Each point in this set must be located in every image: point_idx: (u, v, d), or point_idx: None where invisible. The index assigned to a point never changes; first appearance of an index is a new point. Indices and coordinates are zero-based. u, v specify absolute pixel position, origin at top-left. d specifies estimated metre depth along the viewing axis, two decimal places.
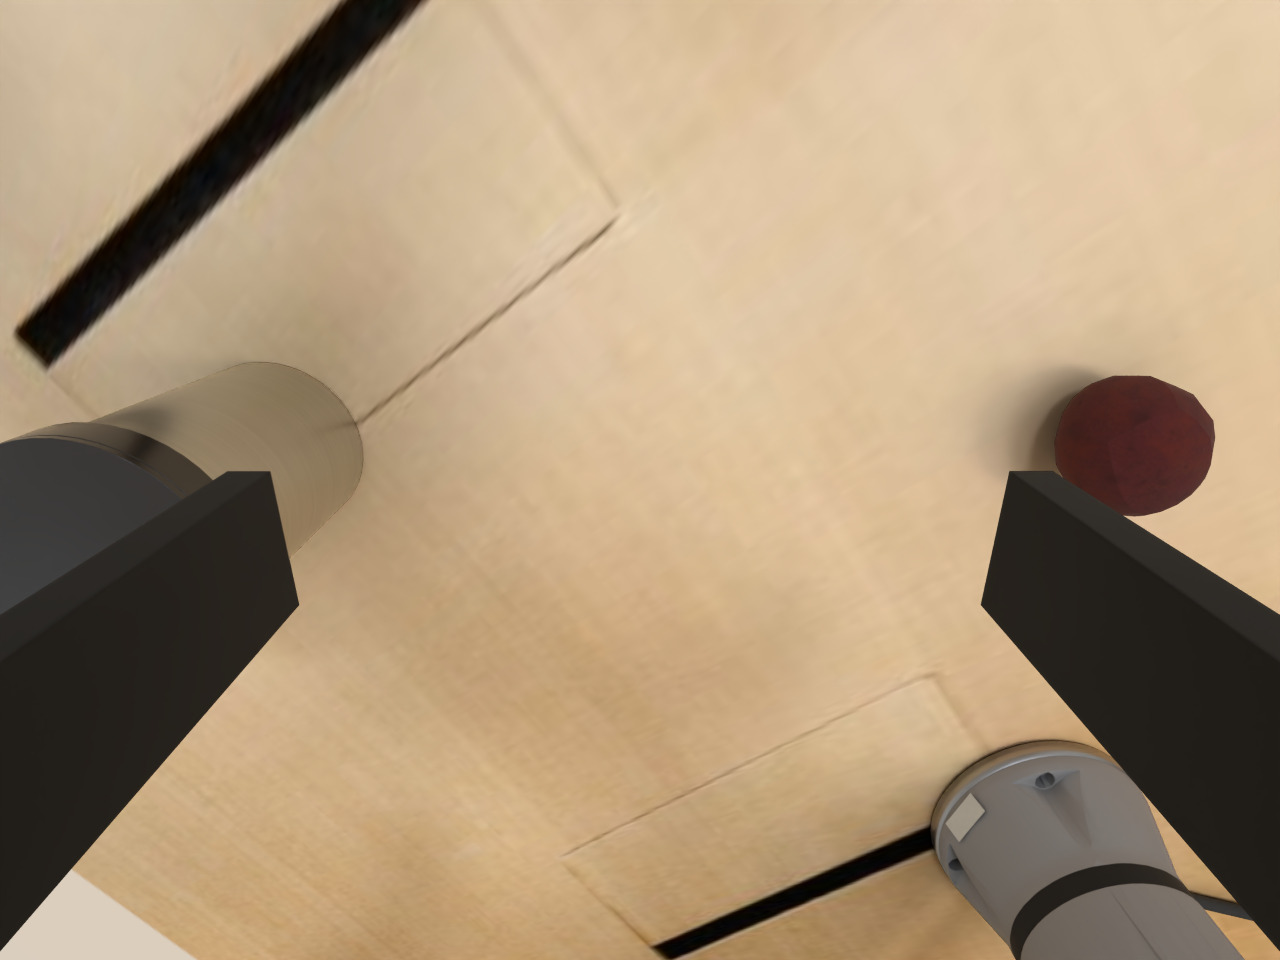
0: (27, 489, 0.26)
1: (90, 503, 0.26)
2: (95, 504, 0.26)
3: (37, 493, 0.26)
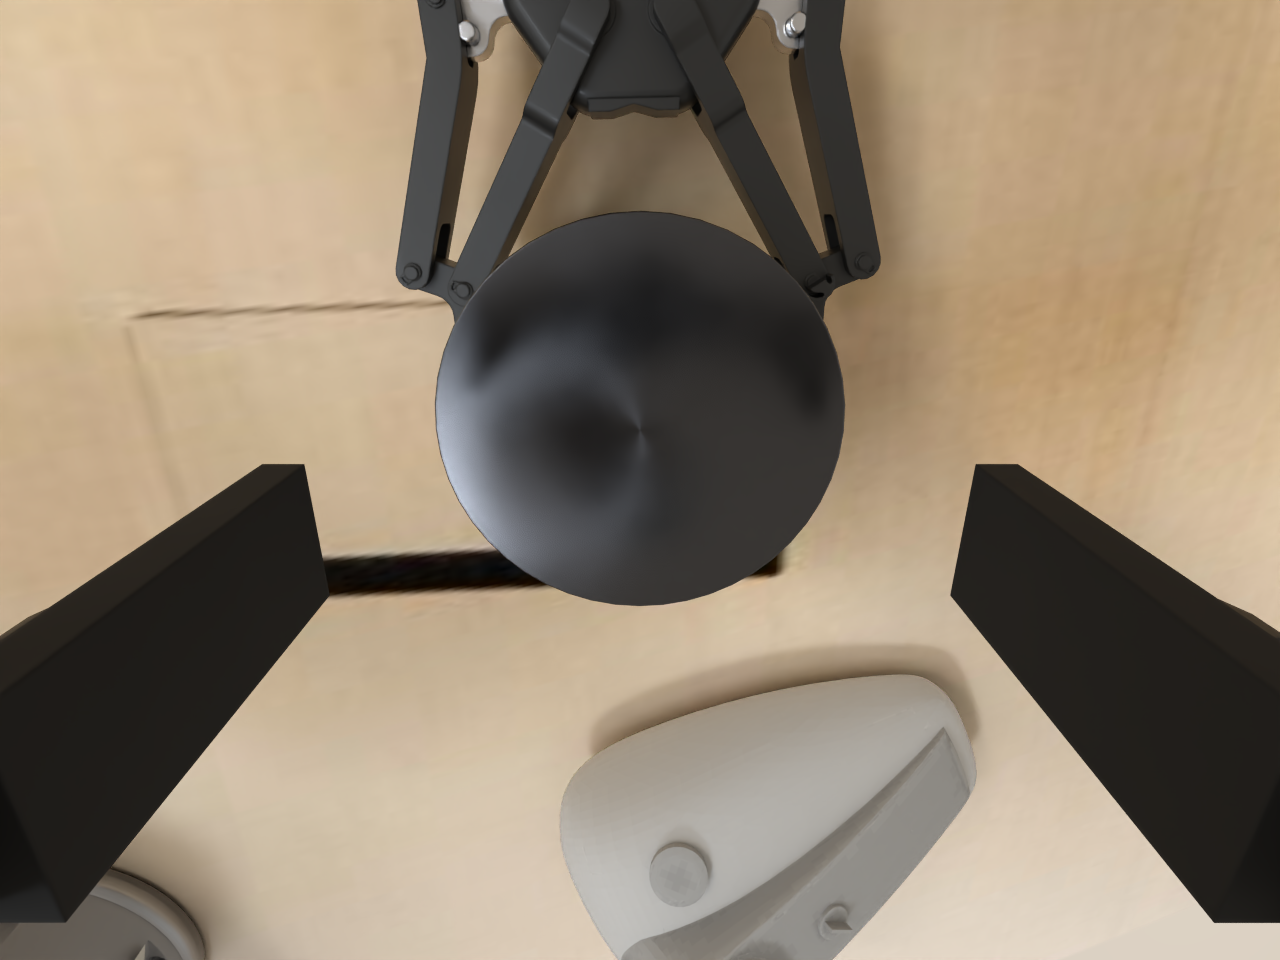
0: (604, 547, 0.20)
1: (549, 493, 0.19)
2: (544, 488, 0.19)
3: (598, 537, 0.20)
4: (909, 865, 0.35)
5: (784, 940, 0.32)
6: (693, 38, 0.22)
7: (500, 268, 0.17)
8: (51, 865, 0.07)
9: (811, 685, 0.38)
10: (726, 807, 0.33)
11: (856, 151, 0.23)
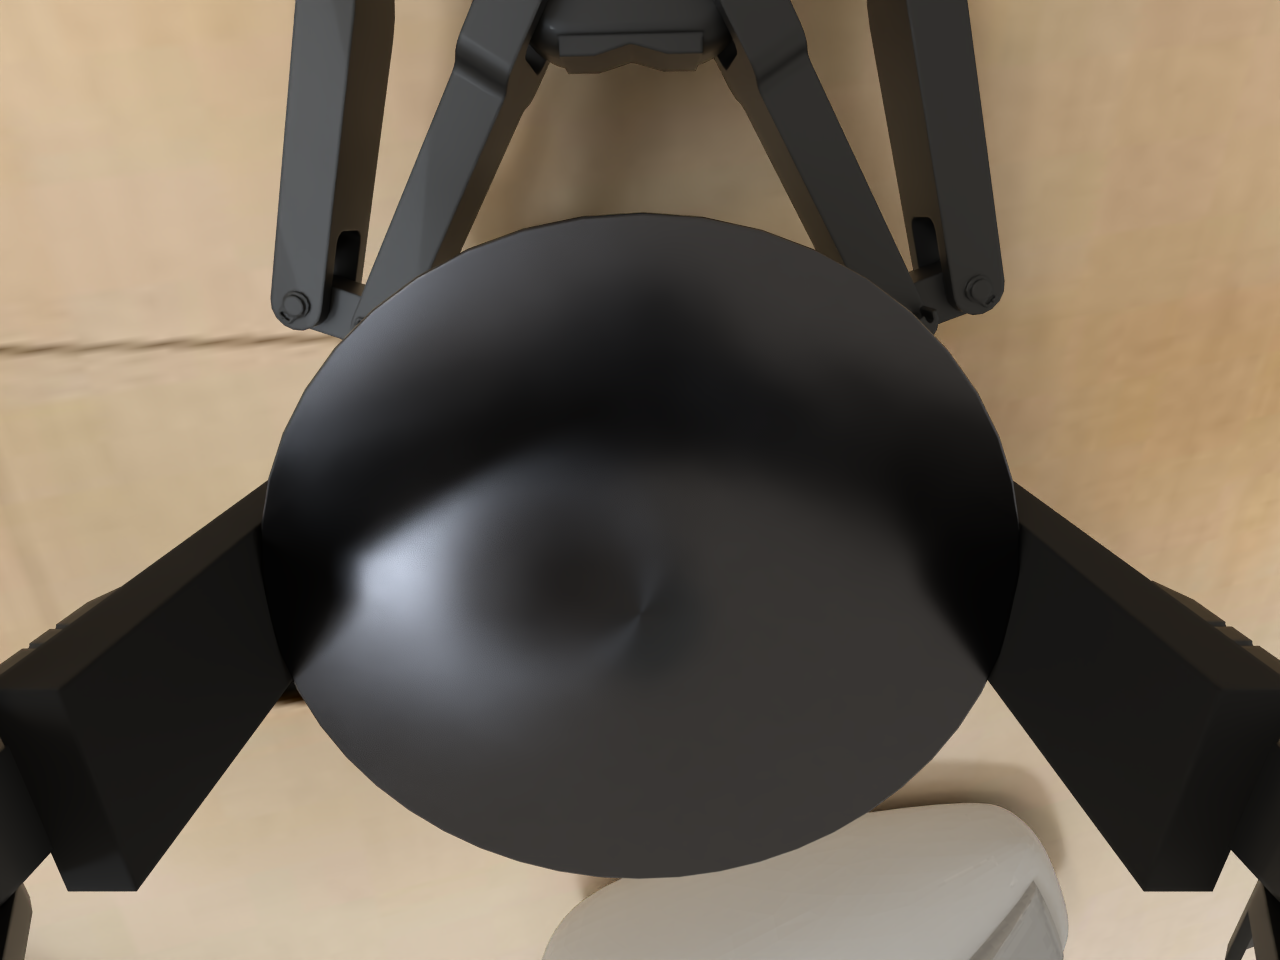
0: (578, 794, 0.11)
1: (480, 713, 0.11)
2: (470, 706, 0.11)
3: (568, 780, 0.11)
4: None
5: None
6: None
7: (364, 325, 0.09)
8: (124, 836, 0.07)
9: (859, 819, 0.30)
10: None
11: (977, 119, 0.15)
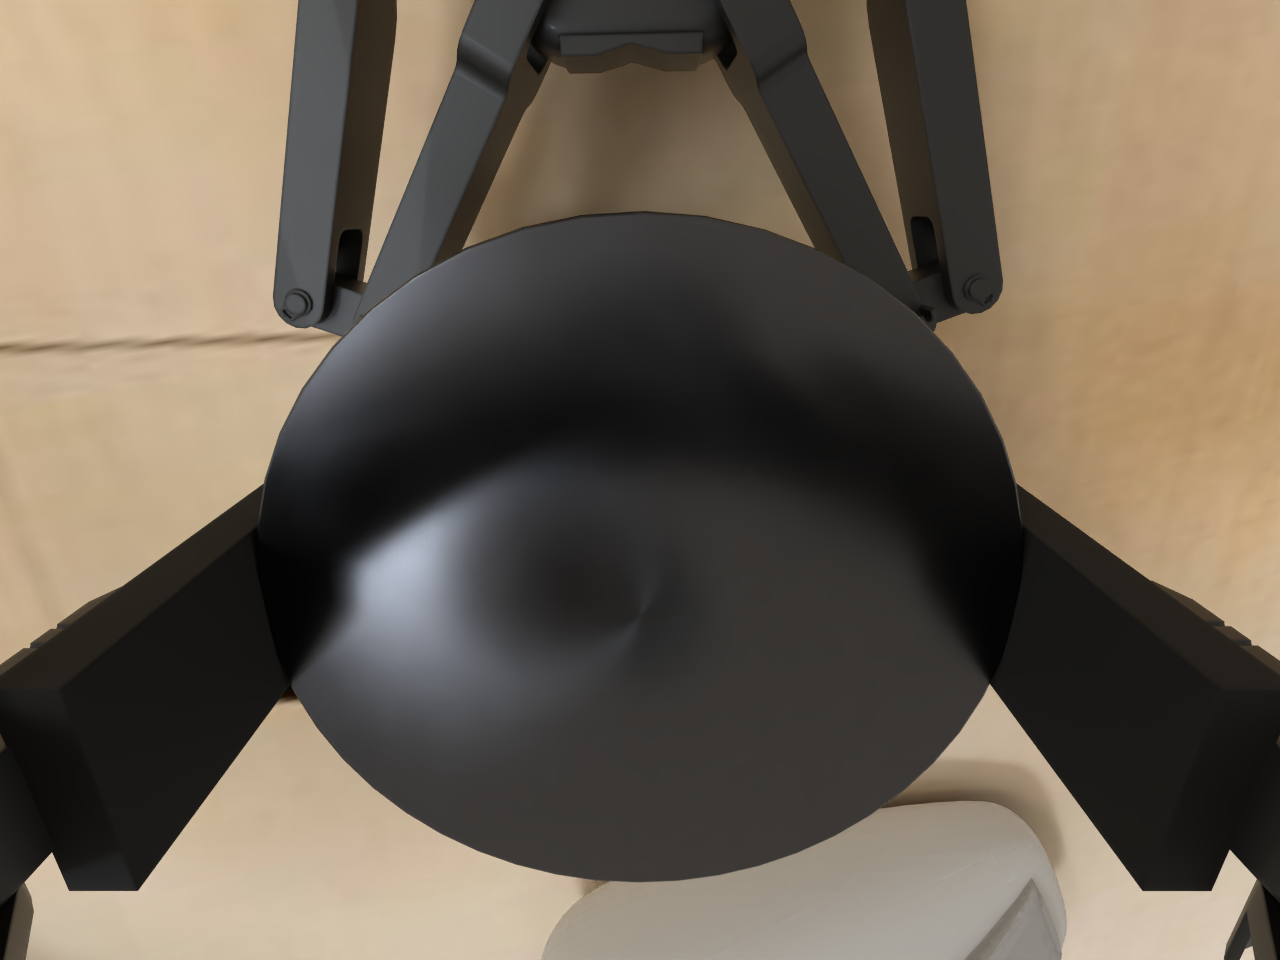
0: (819, 740, 0.11)
1: (683, 775, 0.11)
2: (672, 779, 0.11)
3: (796, 742, 0.11)
4: None
5: None
6: None
7: (304, 702, 0.11)
8: (125, 835, 0.07)
9: None
10: None
11: (976, 119, 0.15)
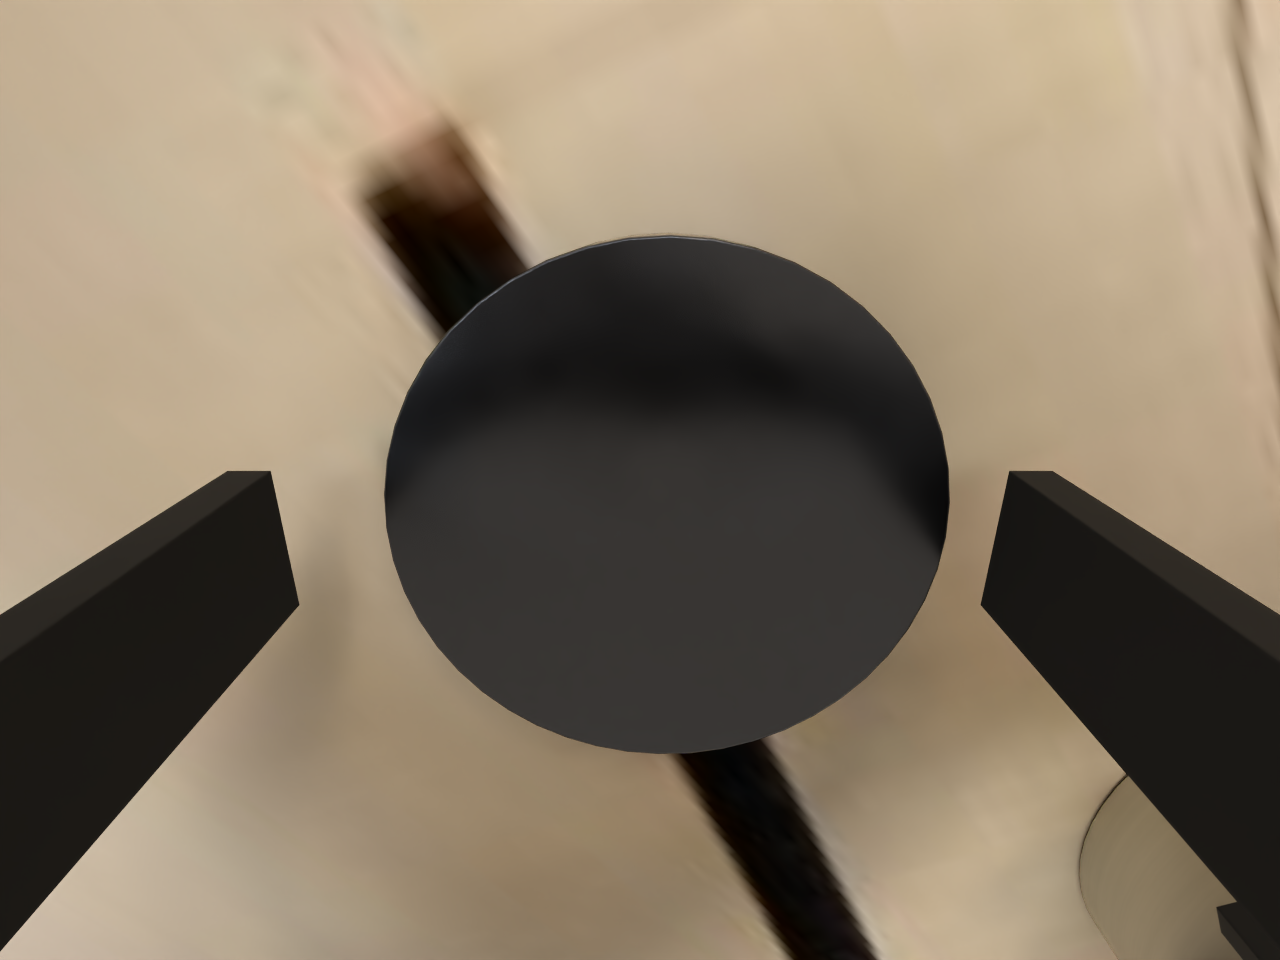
0: (800, 634, 0.14)
1: (696, 662, 0.15)
2: (687, 666, 0.15)
3: (782, 635, 0.14)
4: None
5: None
6: None
7: (411, 599, 0.14)
8: None
9: None
10: None
11: None
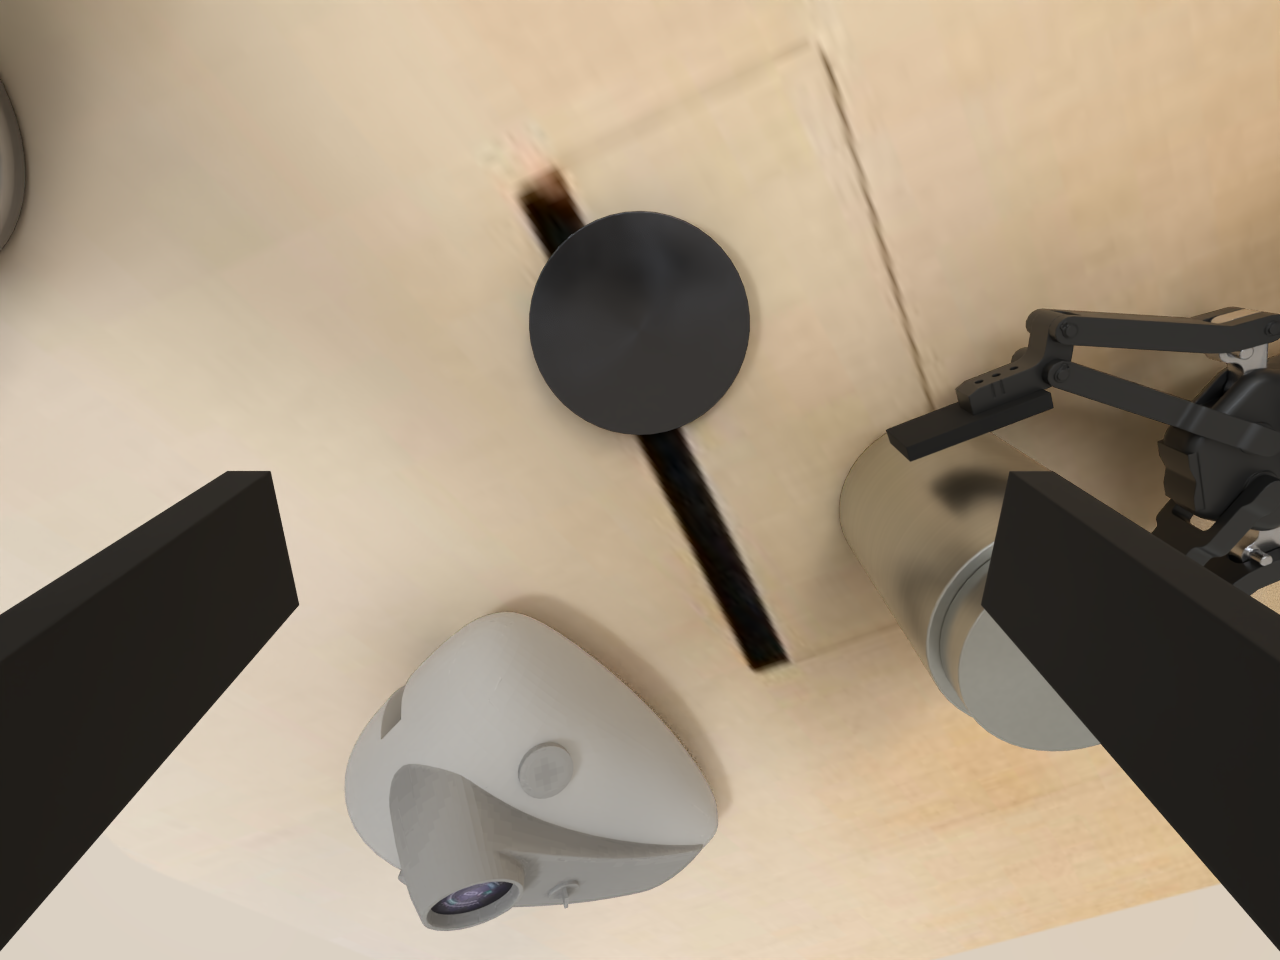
0: (695, 375, 0.35)
1: (653, 389, 0.35)
2: (649, 390, 0.35)
3: (688, 375, 0.35)
4: (605, 897, 0.41)
5: (543, 875, 0.35)
6: (1254, 512, 0.32)
7: (537, 360, 0.35)
8: None
9: (679, 741, 0.44)
10: (607, 764, 0.37)
11: None
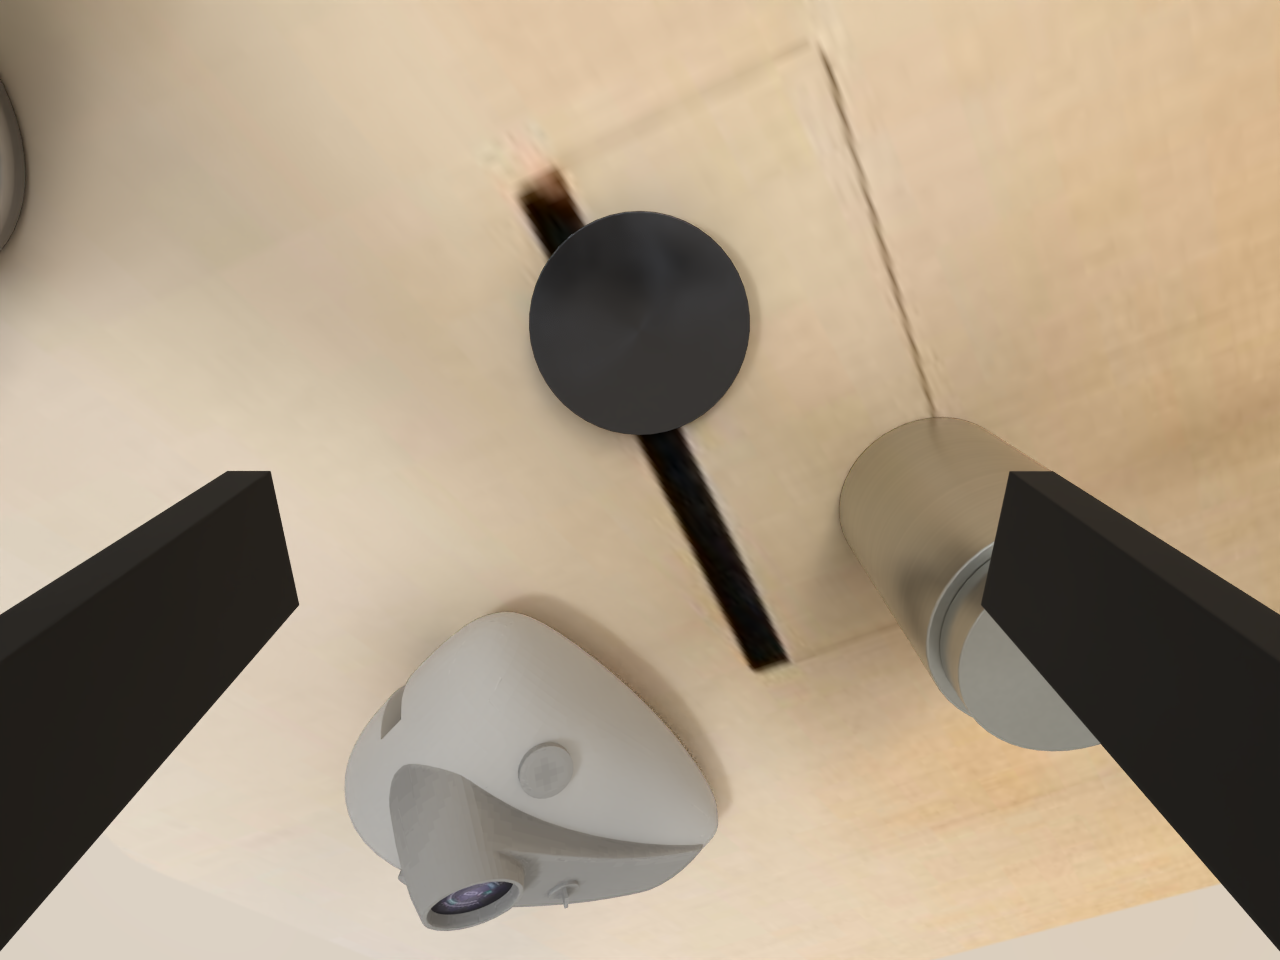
0: (695, 375, 0.35)
1: (653, 389, 0.35)
2: (649, 390, 0.35)
3: (688, 375, 0.35)
4: (605, 897, 0.41)
5: (543, 875, 0.35)
6: None
7: (537, 360, 0.35)
8: None
9: (679, 741, 0.44)
10: (607, 764, 0.37)
11: None
